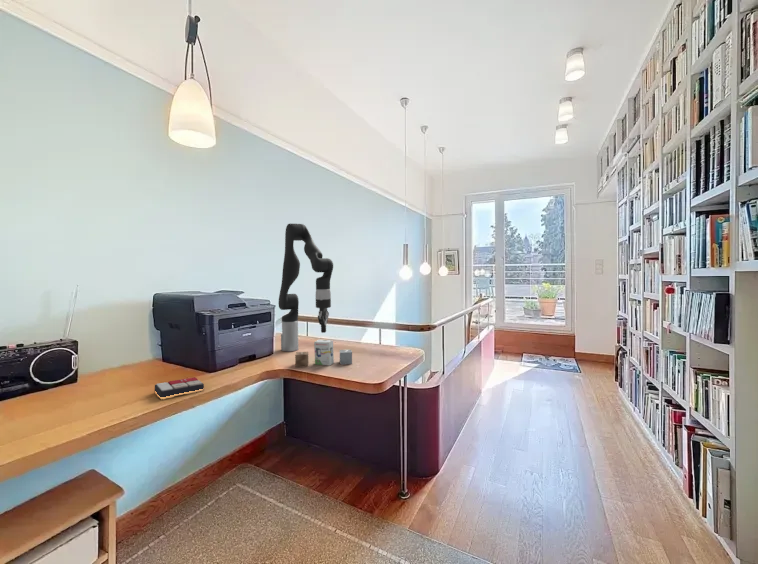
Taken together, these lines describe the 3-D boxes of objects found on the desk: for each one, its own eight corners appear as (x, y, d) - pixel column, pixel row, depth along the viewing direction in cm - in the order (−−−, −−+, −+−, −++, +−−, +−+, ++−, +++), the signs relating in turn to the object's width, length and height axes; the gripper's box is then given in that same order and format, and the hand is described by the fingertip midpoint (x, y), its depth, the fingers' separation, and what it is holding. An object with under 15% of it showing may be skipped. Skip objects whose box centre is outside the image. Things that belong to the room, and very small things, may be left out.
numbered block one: (295, 367, 171) (295, 354, 171) (296, 363, 177) (296, 351, 177) (308, 366, 172) (307, 354, 172) (308, 363, 178) (308, 351, 177)
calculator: (204, 382, 139) (160, 389, 129) (204, 393, 139) (160, 401, 129) (196, 376, 147) (154, 382, 137) (195, 386, 147) (154, 393, 137)
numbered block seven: (340, 364, 175) (340, 352, 174) (339, 361, 181) (339, 349, 180) (352, 364, 176) (352, 351, 175) (351, 360, 181) (351, 349, 181)
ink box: (334, 363, 177) (333, 340, 177) (329, 365, 172) (329, 342, 172) (318, 361, 180) (318, 339, 179) (314, 364, 175) (313, 341, 174)
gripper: (319, 296, 182) (320, 329, 183) (312, 299, 169) (312, 334, 170) (333, 296, 181) (334, 330, 182) (327, 299, 168) (327, 335, 169)
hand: (323, 332), depth 176 cm, fingers closed
